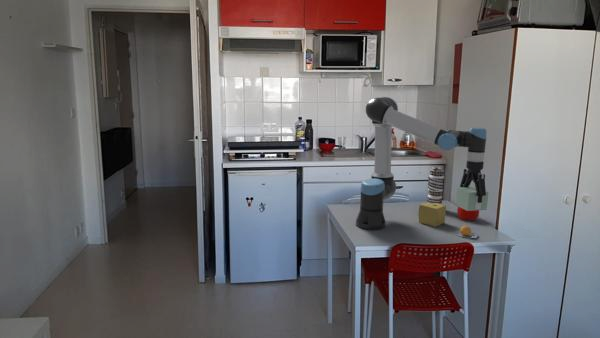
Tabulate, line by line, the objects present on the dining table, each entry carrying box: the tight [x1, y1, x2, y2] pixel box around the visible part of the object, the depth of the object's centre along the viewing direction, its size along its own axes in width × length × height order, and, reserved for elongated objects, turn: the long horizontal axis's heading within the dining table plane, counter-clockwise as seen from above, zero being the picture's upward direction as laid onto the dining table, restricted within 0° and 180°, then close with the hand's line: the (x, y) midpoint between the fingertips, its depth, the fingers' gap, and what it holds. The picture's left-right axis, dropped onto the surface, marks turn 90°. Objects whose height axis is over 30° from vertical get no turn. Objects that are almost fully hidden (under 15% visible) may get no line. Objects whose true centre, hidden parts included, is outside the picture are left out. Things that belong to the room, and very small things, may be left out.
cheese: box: [418, 202, 447, 227], centre depth 238 cm, size 10×11×10 cm
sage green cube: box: [455, 186, 489, 211], centre depth 217 cm, size 10×10×9 cm
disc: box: [456, 231, 476, 240], centre depth 221 cm, size 10×10×1 cm
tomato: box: [456, 206, 480, 221], centre depth 246 cm, size 11×12×9 cm
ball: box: [459, 225, 472, 236], centre depth 220 cm, size 5×5×5 cm
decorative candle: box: [426, 166, 446, 204], centre depth 262 cm, size 9×9×25 cm
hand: (470, 205), depth 217 cm, fingers closed on sage green cube, 10 cm apart
